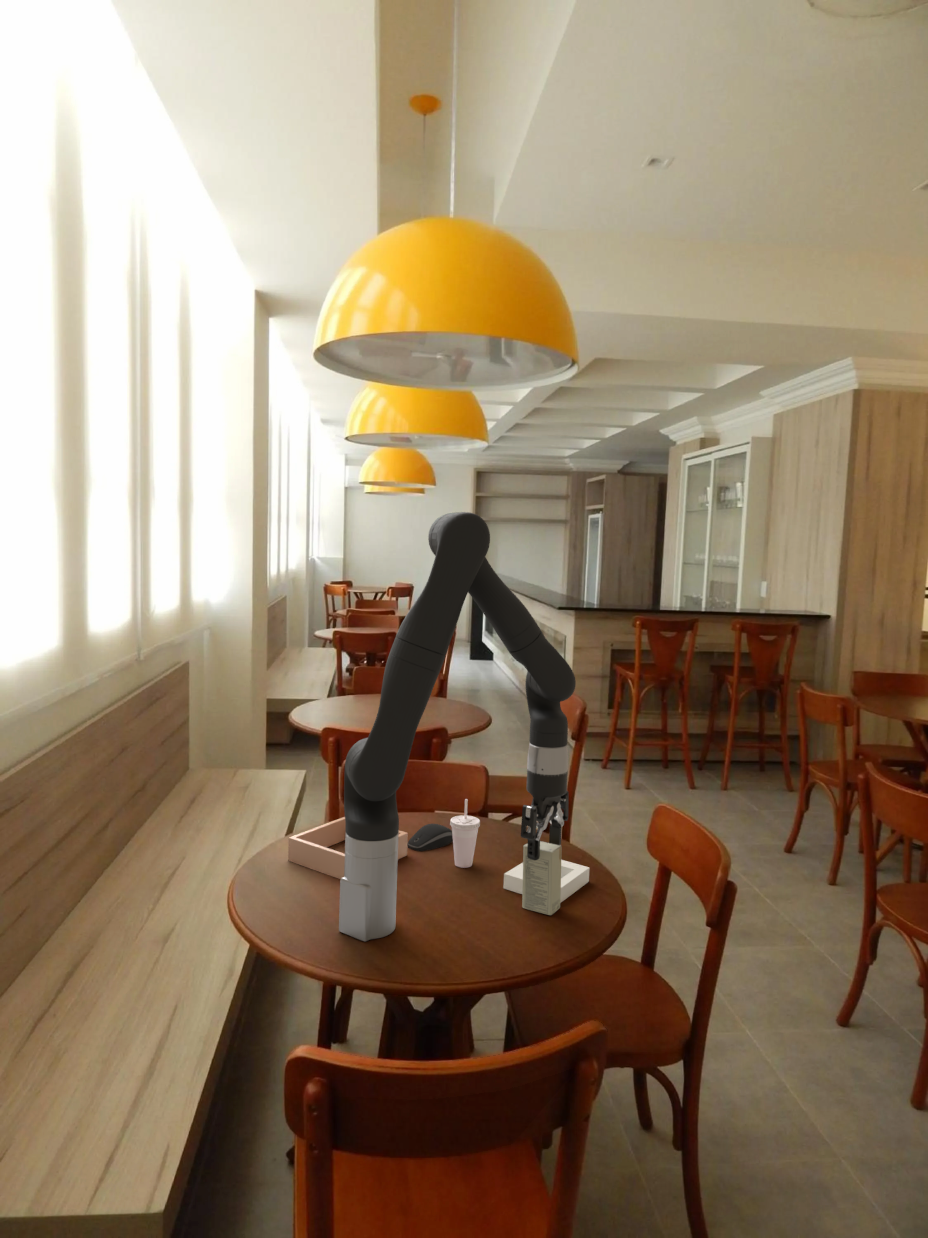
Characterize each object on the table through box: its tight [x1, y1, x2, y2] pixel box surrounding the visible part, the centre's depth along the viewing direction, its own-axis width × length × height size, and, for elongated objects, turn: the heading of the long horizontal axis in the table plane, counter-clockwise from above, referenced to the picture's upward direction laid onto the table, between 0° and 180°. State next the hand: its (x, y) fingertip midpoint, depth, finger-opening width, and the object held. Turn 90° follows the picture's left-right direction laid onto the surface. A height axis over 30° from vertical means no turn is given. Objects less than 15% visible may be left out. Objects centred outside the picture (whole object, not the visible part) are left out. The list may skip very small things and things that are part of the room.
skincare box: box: [521, 840, 563, 916], centre depth 149 cm, size 6×4×12 cm
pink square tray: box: [287, 816, 409, 880], centre depth 170 cm, size 18×17×5 cm
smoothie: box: [449, 798, 481, 869], centre depth 168 cm, size 6×6×14 cm
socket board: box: [502, 859, 590, 904], centre depth 160 cm, size 14×12×4 cm
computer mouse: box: [407, 823, 453, 852], centre depth 181 cm, size 7×12×4 cm, turn 138°
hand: (544, 852), depth 149 cm, fingers open, 8 cm apart
